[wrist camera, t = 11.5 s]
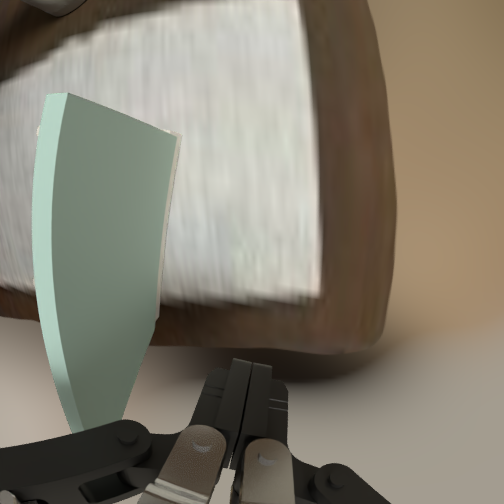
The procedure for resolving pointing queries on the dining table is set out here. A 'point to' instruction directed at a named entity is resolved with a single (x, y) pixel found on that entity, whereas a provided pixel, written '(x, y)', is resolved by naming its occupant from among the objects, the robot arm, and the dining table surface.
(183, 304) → the dining table surface
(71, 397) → the cover
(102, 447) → the robot arm
